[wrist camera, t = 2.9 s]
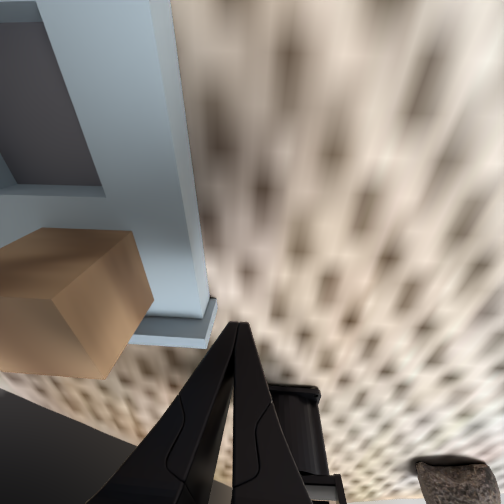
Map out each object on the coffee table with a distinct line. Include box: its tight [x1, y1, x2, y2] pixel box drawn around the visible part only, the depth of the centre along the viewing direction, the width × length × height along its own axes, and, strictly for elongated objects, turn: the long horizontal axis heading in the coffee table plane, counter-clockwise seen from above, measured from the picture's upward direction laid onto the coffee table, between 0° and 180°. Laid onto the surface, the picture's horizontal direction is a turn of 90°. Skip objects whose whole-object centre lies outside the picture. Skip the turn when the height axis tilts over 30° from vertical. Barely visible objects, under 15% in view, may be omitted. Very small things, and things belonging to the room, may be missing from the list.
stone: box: [416, 462, 501, 504], centre depth 30 cm, size 10×8×10 cm
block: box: [0, 227, 154, 380], centre depth 11 cm, size 5×5×5 cm
